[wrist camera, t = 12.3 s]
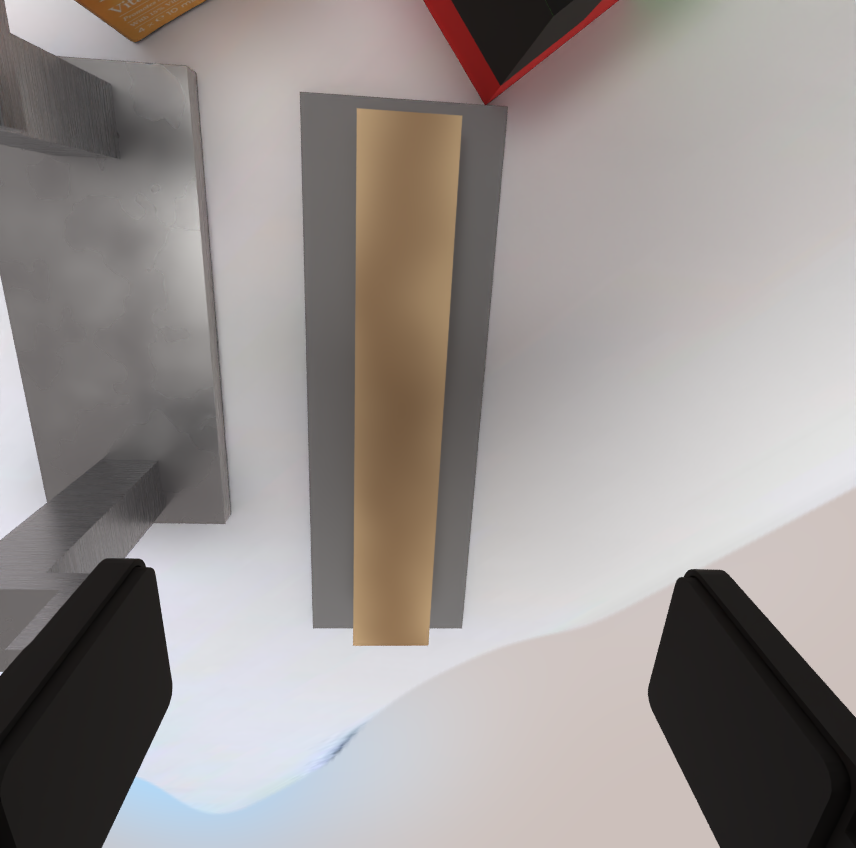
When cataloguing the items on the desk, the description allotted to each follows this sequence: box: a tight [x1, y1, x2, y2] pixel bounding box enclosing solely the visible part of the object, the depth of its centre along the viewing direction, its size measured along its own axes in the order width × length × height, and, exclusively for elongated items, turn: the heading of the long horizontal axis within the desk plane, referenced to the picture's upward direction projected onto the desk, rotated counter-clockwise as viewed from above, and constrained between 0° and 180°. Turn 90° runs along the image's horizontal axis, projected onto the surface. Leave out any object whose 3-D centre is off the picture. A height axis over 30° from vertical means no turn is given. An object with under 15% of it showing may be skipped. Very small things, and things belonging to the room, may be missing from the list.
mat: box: [300, 92, 508, 628], centre depth 26 cm, size 8×25×1 cm, turn 177°
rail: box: [353, 108, 462, 646], centre depth 23 cm, size 4×22×4 cm, turn 177°
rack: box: [0, 0, 231, 672], centre depth 18 cm, size 8×19×13 cm, turn 177°
